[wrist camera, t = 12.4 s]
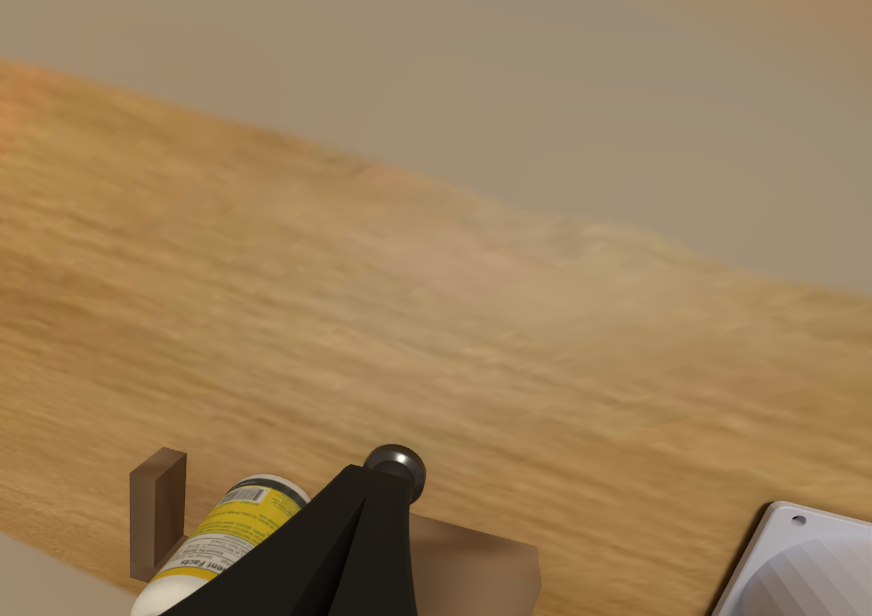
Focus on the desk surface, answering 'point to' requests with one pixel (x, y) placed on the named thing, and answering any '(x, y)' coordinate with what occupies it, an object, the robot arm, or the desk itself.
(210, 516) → the supplement bottle
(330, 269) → the desk surface
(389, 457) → the spool post
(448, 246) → the desk surface
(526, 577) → the notched board
